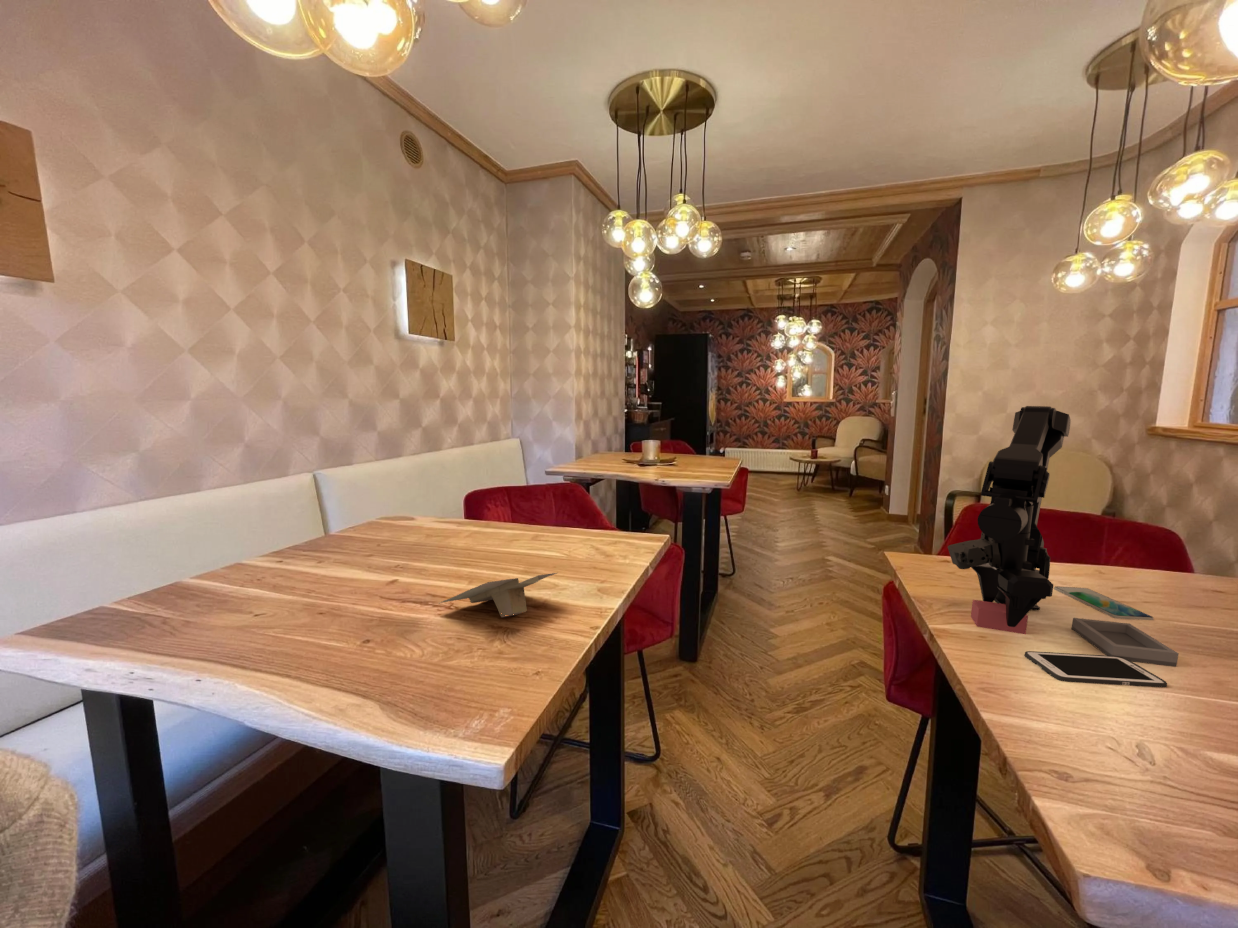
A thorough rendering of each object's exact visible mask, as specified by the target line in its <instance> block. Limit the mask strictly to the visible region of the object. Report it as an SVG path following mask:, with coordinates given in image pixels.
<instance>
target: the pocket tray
mask: <svg viewBox="0 0 1238 928" xmlns="http://www.w3.org/2000/svg"><path fill="white" fill-rule="evenodd" d="M1071 630H1072V631H1073V632H1075V633H1076V634H1077V635H1079V636H1080V637H1082V638H1083V639H1084V640H1086V641H1087V642H1088V643H1089V644H1091V645H1092V646H1094V647H1095V648H1096V649H1098V650H1099V651H1101V652H1102V653H1103V654H1104V655H1105V656H1118V657H1123V658H1126V659H1128V660H1130V661H1132V662H1133V663H1135V662H1136V663H1144V664H1153V665H1159V666H1168V667H1169V666H1170V667H1177V665H1178V658H1179V652H1177V651H1175V650H1174V649H1172V648H1171V647H1169V646H1168V645H1166V644H1164V643H1162V642H1160V641H1159V640H1157V639H1155V638H1154V637H1152V636H1151V635H1149V634H1148V633H1146V632H1144V631H1143V630H1141V629H1139V628H1138V627H1136V626H1134V625H1133V624H1131V623H1127V622H1120V621H1119V622H1117V621H1109V620H1100V619H1099V620H1097V619H1089V618H1081V617H1080V618H1079V617H1072V623H1071Z"/></svg>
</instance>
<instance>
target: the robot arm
mask: <svg viewBox="0 0 1238 928" xmlns="http://www.w3.org/2000/svg"><path fill="white" fill-rule="evenodd" d="M1071 420H1072V419H1071V417H1070V414H1069V413H1065V412H1063V411H1059V410H1057V409H1056V408H1055V407H1052V406H1045V405H1043V406H1042V405H1040V406H1039V405H1026V406H1024V407H1022V406H1021V408H1020V410H1019V411H1015V412H1014V416H1013V424H1012V430H1011V431H1012V432H1013V433H1014V434H1013V437H1012V440H1011V441H1010V444H1009V445H1008V446H1007V447H1004V448H1002V449H1000V450H998V451H997V453H995V454H996V455H995V456H994V458H993V460H992V461H989V462H988V465H987V468H986V473H985V476H984V481H983V484H982V487H981V492H980V496H981V497H989V498H991V499H990V503H989V505H987V506H986V507H984V508H983V509H982V510H980V513H979V514H978V517H977V525H978V528H979V530H980V531H981V533H980V538H978V539H971V540H965V541H963V542H962V541H961V542H957V543H954V544H953V543H952V544H949V545H947V549H948V553H949V556H950V559H951V563H952V564H953V565H955V566H956V567H957V569H960V570H968V569H972V570H973V571H974V572H975V573H976V574H977V578H978V579H977V580H978V584H979V587H980V593H981V597H982V601H986V602H993V603H994V602H995V603H1000V604H1006V620H1007V625H1008V626H1009V627H1016V626H1017V624H1018V623H1019V622H1020V621H1021V620H1022V619H1023V618H1024V616H1025V615H1026V614H1027V615H1028V613H1029V612H1030V611H1032V610H1034V611H1035V610H1036V611H1039V610H1040V609H1041V606H1039V605H1038V603H1039V602H1040V601H1041V600H1046V599H1047V598H1050V597H1052V596H1053V591H1054V583H1052V582H1051V581H1050V579H1049V577H1050V570H1051V556H1049V554H1048V550H1047V549H1048V548H1045V547H1044V545H1045V542H1044V539H1043V535H1042V533H1041V531H1040V529H1039V528H1038V523H1039V522H1038V521H1039V514H1040V510H1041V505H1042V500H1043V498H1046V497H1045V496H1046V492H1047V490H1048V489H1047V488H1048V485H1049V481H1050V472H1049V471H1048V468H1049V462H1050V459H1051V458H1052V457H1053V456H1054V455H1055V454H1056V453H1058V451H1060V450H1061V449H1062V448H1063V444H1064V439H1065V437H1069V434H1070V430H1071V422H1072V421H1071Z"/></svg>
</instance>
